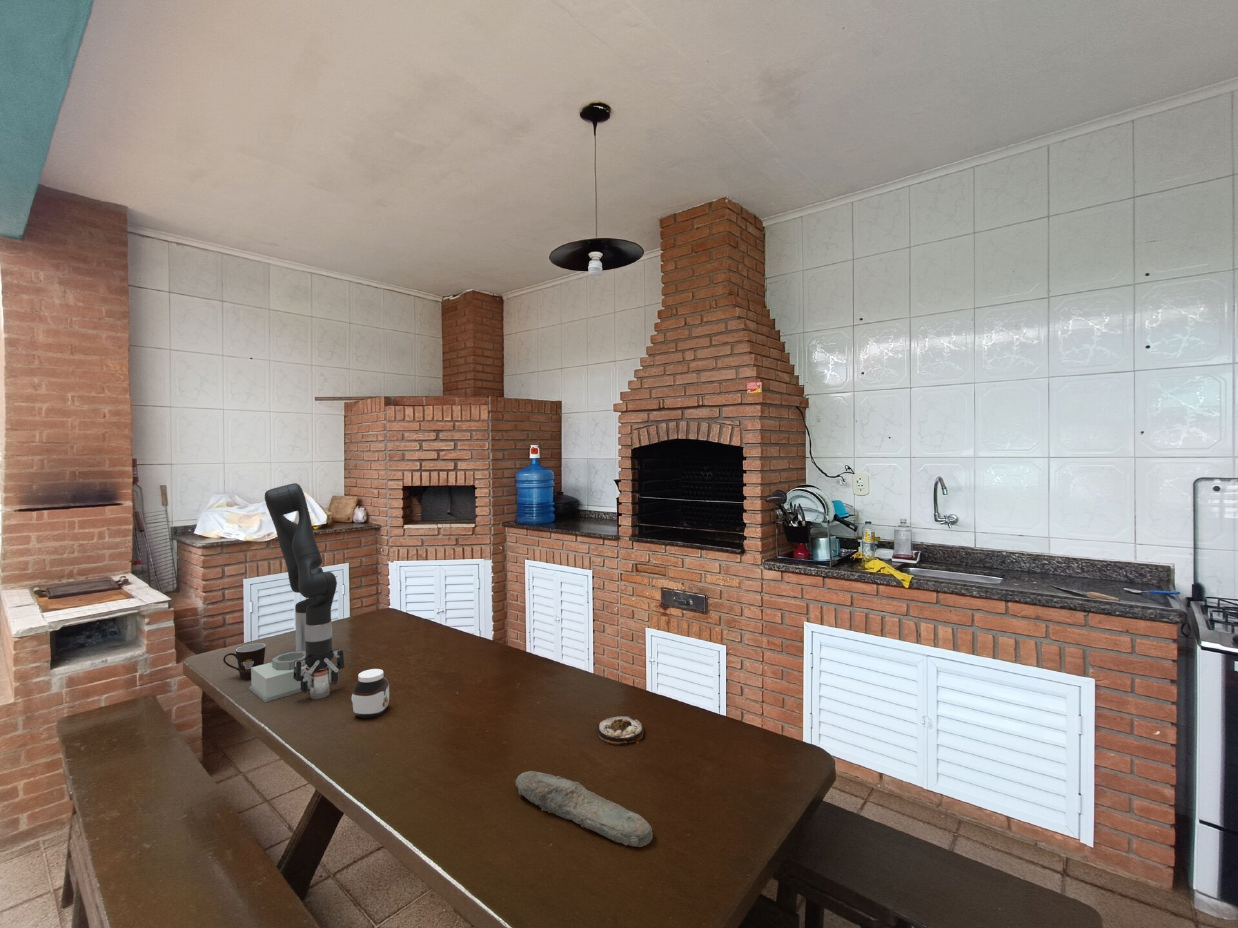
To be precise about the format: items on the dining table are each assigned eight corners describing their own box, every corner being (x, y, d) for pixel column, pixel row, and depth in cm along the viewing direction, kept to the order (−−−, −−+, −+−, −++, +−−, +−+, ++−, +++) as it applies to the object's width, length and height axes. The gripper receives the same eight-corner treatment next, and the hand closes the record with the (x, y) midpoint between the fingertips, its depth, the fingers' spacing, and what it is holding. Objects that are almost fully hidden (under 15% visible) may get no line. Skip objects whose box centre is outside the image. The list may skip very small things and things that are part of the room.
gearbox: (319, 669, 200) (318, 642, 200) (337, 680, 190) (337, 652, 190) (249, 688, 184) (248, 659, 184) (265, 702, 174) (264, 671, 174)
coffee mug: (272, 672, 198) (271, 643, 198) (253, 682, 189) (253, 652, 189) (241, 670, 199) (240, 642, 199) (221, 680, 191) (220, 651, 190)
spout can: (325, 690, 183) (324, 660, 182) (332, 694, 179) (331, 664, 179) (307, 695, 179) (307, 665, 178) (314, 700, 175) (313, 669, 175)
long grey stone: (635, 867, 106) (662, 840, 114) (637, 839, 106) (663, 814, 114) (502, 794, 126) (533, 775, 134) (504, 770, 126) (535, 753, 134)
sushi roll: (596, 751, 145) (596, 735, 145) (590, 724, 160) (590, 709, 160) (653, 746, 147) (653, 730, 147) (641, 720, 162) (641, 705, 162)
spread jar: (372, 721, 161) (371, 680, 161) (337, 718, 163) (336, 677, 163) (397, 703, 173) (396, 665, 173) (364, 700, 175) (363, 662, 175)
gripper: (337, 628, 186) (337, 677, 187) (289, 639, 176) (290, 691, 176) (347, 633, 181) (348, 683, 182) (298, 645, 171) (299, 698, 171)
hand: (319, 687), depth 179 cm, fingers open, 8 cm apart
